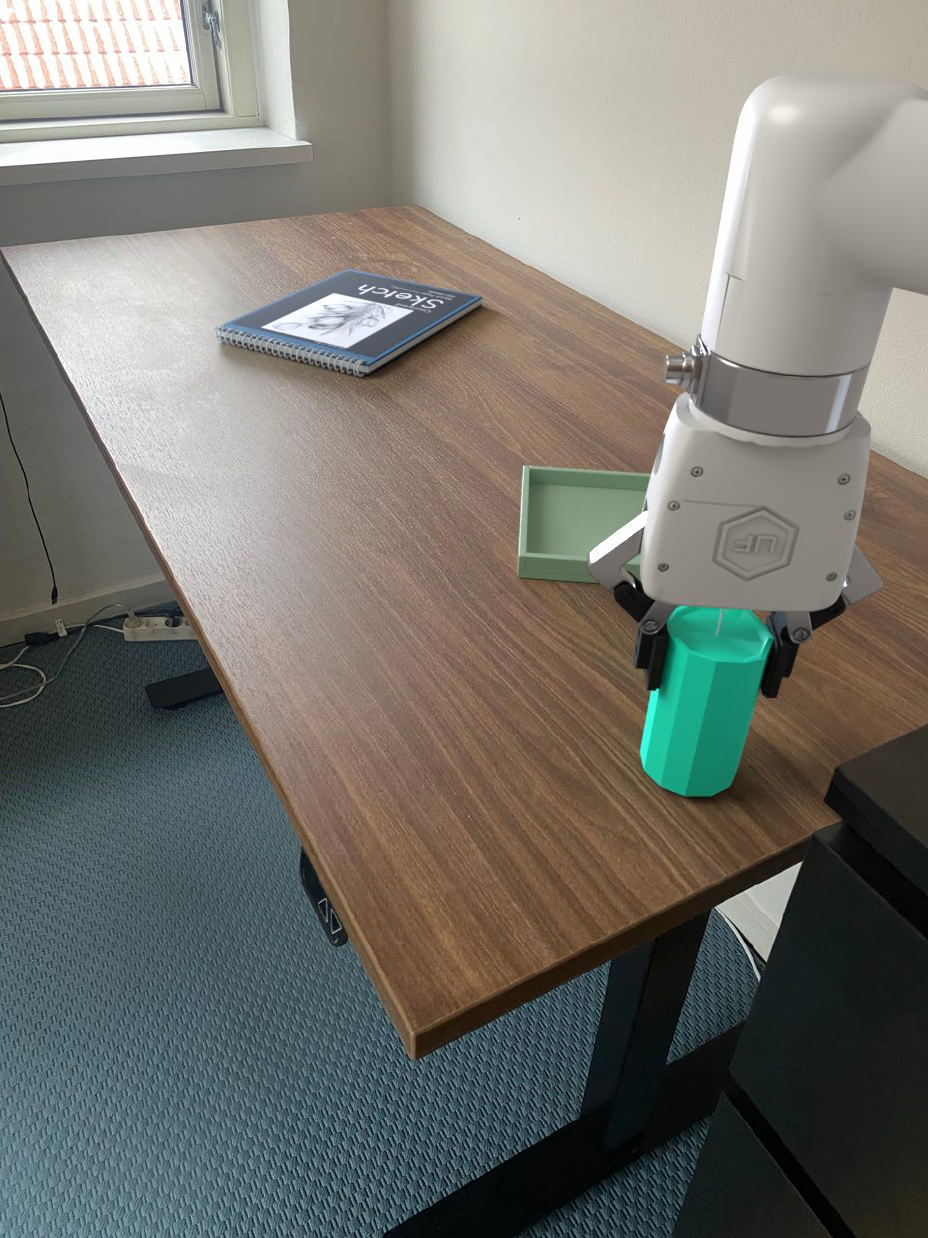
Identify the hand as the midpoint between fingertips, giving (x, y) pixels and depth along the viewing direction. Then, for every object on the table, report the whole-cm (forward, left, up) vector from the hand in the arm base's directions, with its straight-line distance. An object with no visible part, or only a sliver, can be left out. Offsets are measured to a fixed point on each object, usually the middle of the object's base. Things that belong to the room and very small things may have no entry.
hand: (707, 676), depth 54 cm
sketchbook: (+34, -74, -8) cm, 82 cm away
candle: (0, 0, -7) cm, 7 cm away
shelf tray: (+3, -27, -8) cm, 28 cm away
